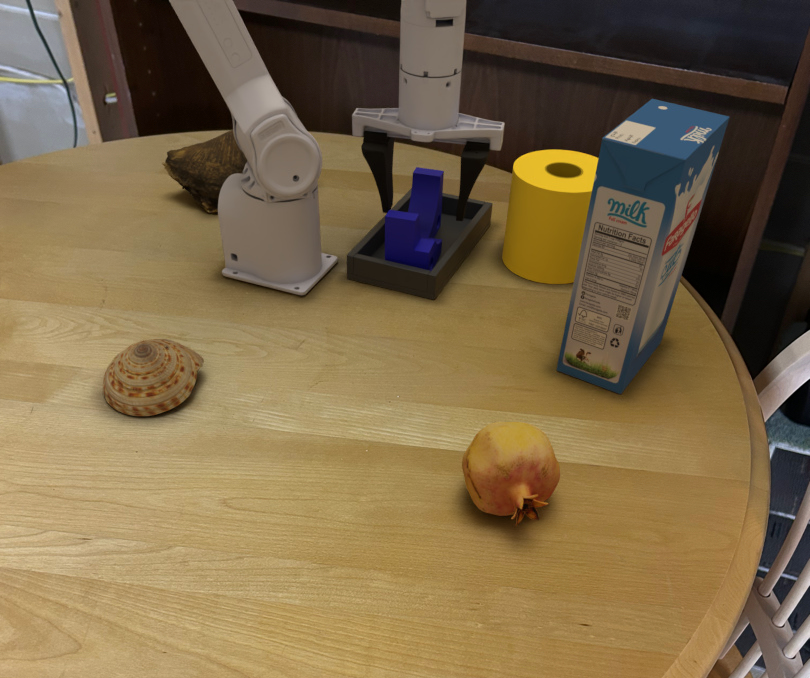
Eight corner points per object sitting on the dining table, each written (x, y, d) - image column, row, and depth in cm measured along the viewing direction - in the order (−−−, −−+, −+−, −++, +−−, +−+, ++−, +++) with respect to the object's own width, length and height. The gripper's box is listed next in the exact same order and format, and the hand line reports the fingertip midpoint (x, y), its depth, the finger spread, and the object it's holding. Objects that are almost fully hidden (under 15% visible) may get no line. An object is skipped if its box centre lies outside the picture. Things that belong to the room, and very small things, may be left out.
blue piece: (427, 280, 81) (430, 223, 77) (384, 273, 82) (385, 216, 77) (453, 227, 89) (457, 172, 85) (414, 221, 90) (416, 167, 85)
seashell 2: (297, 165, 99) (297, 111, 93) (317, 213, 95) (319, 159, 89) (162, 180, 95) (154, 124, 89) (178, 230, 91) (170, 175, 85)
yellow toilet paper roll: (607, 250, 88) (626, 161, 81) (580, 293, 81) (599, 201, 74) (520, 229, 90) (532, 142, 83) (488, 269, 84) (498, 178, 77)
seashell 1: (221, 342, 70) (172, 357, 63) (217, 404, 72) (170, 426, 65) (137, 323, 71) (80, 336, 64) (137, 385, 74) (82, 404, 67)
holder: (346, 278, 82) (346, 254, 80) (412, 208, 93) (412, 186, 91) (434, 300, 80) (435, 276, 78) (490, 225, 91) (492, 202, 89)
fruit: (440, 403, 59) (475, 494, 52) (530, 375, 59) (577, 462, 52) (456, 469, 64) (490, 559, 57) (539, 443, 64) (583, 531, 57)
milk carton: (620, 395, 70) (685, 159, 55) (555, 370, 72) (602, 137, 57) (661, 342, 76) (730, 115, 61) (600, 321, 78) (652, 98, 63)
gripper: (343, 74, 71) (346, 222, 81) (505, 89, 70) (489, 238, 80) (360, 50, 76) (361, 192, 86) (512, 63, 75) (496, 207, 85)
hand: (423, 212), depth 83 cm, fingers open, 7 cm apart
